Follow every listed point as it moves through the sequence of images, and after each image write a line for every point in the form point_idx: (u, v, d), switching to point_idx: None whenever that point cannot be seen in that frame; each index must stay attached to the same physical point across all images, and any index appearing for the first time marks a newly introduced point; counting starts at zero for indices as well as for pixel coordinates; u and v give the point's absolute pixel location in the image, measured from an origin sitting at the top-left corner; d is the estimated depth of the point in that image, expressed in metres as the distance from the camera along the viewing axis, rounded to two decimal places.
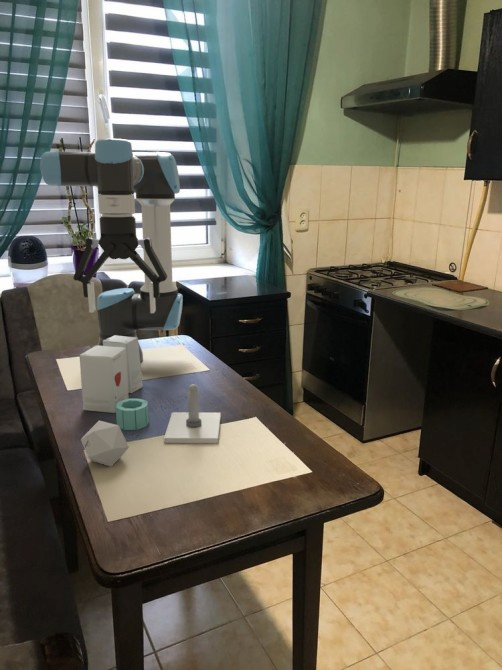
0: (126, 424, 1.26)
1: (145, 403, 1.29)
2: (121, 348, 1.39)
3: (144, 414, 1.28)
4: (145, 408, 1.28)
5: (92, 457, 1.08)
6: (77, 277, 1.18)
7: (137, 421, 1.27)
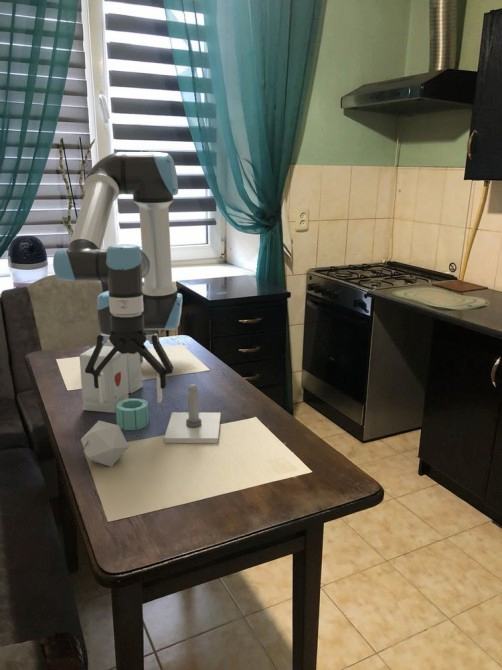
0: (126, 424, 1.26)
1: (145, 403, 1.29)
2: None
3: (144, 414, 1.28)
4: (145, 408, 1.28)
5: (92, 457, 1.08)
6: (88, 370, 1.25)
7: (137, 421, 1.27)
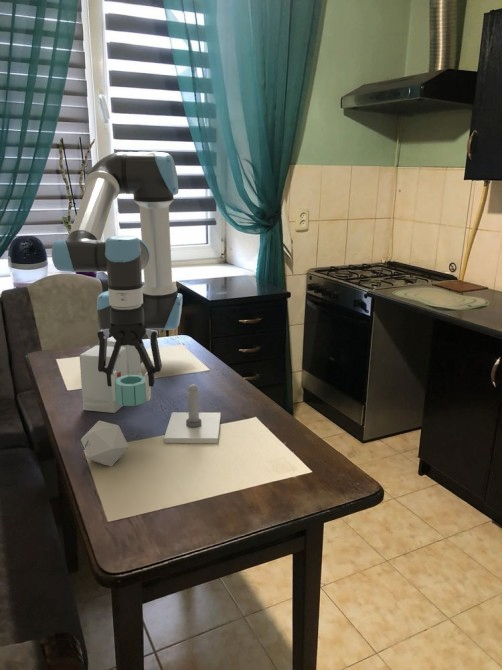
0: (125, 400, 1.25)
1: (144, 379, 1.28)
2: (121, 348, 1.39)
3: (143, 390, 1.27)
4: (144, 384, 1.27)
5: (92, 457, 1.08)
6: (101, 368, 1.26)
7: (136, 397, 1.26)
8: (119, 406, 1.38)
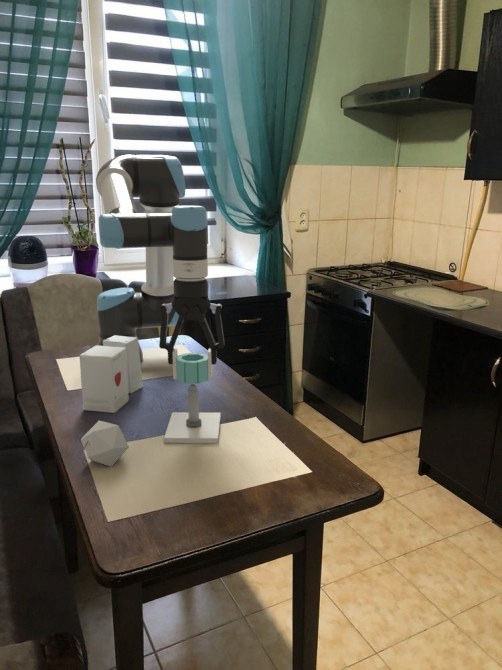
0: (188, 377, 1.20)
1: (206, 357, 1.23)
2: (121, 348, 1.39)
3: (206, 367, 1.21)
4: (207, 361, 1.21)
5: (92, 457, 1.08)
6: (163, 345, 1.20)
7: (199, 374, 1.20)
8: (119, 406, 1.38)
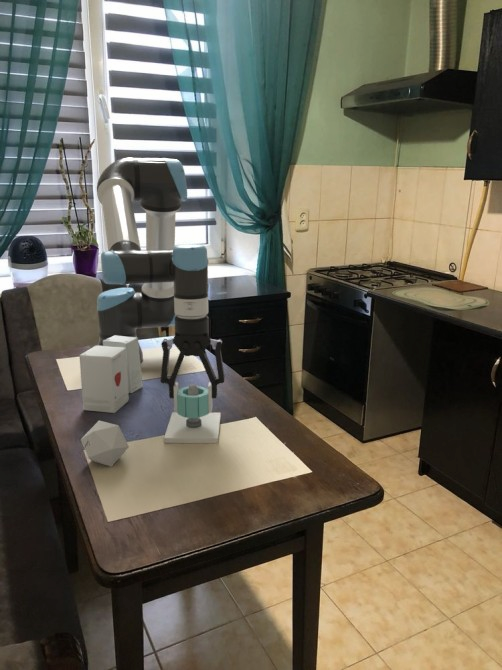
0: (188, 411, 1.22)
1: (206, 391, 1.25)
2: (121, 348, 1.39)
3: (206, 401, 1.24)
4: (207, 395, 1.24)
5: (92, 457, 1.08)
6: (164, 380, 1.23)
7: (200, 408, 1.23)
8: (119, 406, 1.38)
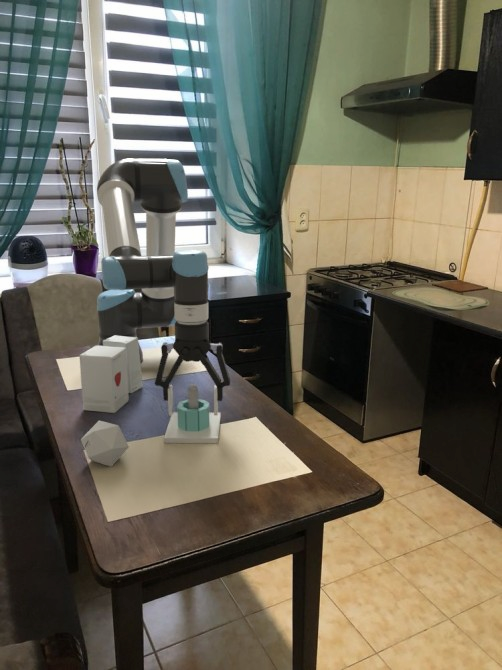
0: (189, 425, 1.23)
1: (206, 404, 1.26)
2: (121, 348, 1.39)
3: (206, 415, 1.25)
4: (207, 409, 1.25)
5: (92, 457, 1.08)
6: (158, 382, 1.23)
7: (200, 422, 1.24)
8: (119, 406, 1.38)
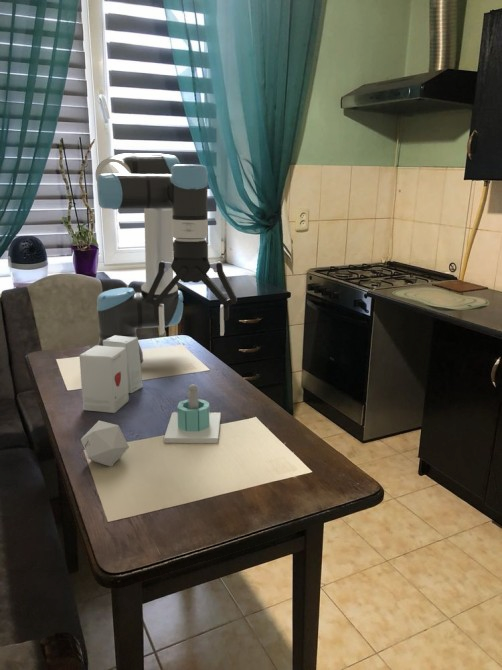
0: (189, 425, 1.23)
1: (206, 404, 1.26)
2: (121, 348, 1.39)
3: (206, 415, 1.25)
4: (207, 409, 1.25)
5: (92, 457, 1.08)
6: (149, 300, 1.19)
7: (200, 422, 1.24)
8: (119, 406, 1.38)
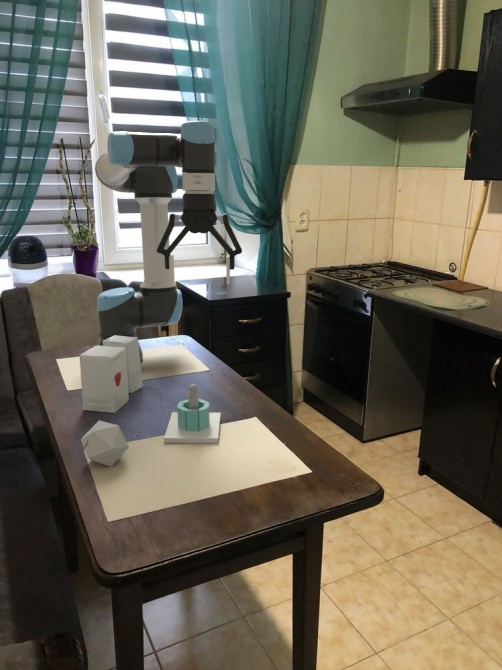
0: (189, 425, 1.23)
1: (206, 404, 1.26)
2: (121, 348, 1.39)
3: (206, 415, 1.25)
4: (207, 409, 1.25)
5: (92, 457, 1.08)
6: (160, 250, 1.28)
7: (200, 422, 1.24)
8: (119, 406, 1.38)
